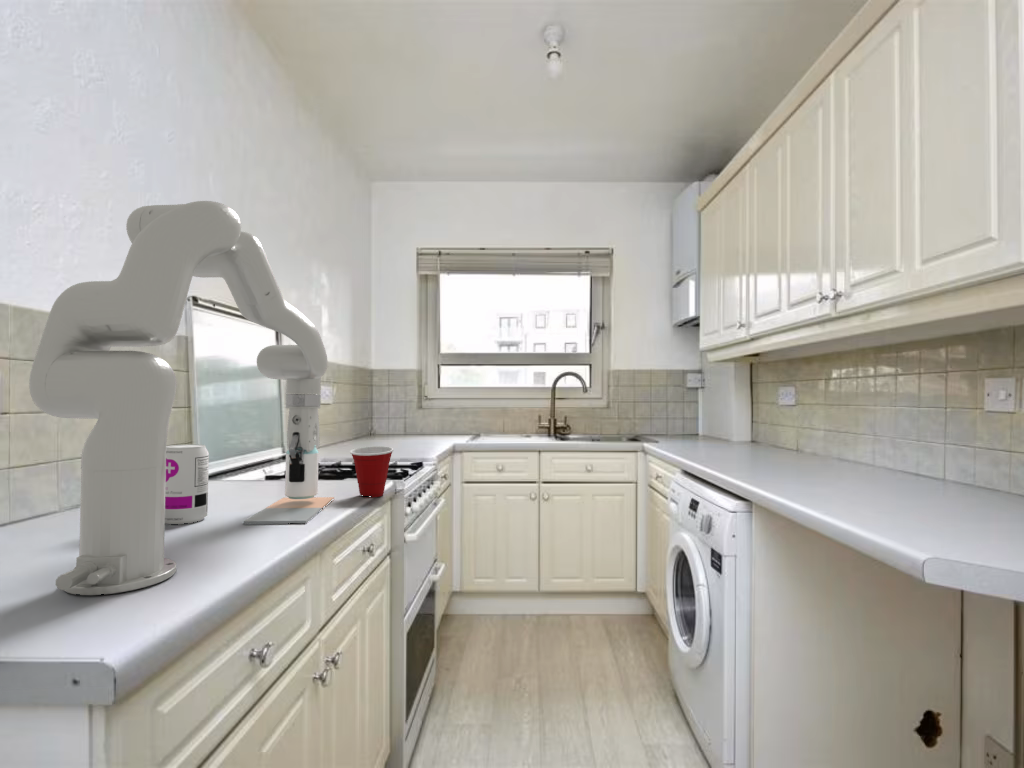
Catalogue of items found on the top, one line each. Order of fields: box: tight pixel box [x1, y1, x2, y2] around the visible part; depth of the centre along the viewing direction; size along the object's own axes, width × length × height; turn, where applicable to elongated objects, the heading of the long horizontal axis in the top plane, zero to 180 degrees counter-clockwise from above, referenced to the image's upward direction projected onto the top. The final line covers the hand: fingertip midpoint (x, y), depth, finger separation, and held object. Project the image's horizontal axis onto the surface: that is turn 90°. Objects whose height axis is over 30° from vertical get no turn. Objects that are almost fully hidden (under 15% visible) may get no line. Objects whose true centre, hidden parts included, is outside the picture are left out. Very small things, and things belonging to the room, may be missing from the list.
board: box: [242, 496, 335, 525], centre depth 117 cm, size 24×12×1 cm, turn 6°
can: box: [284, 445, 320, 499], centre depth 123 cm, size 7×7×12 cm
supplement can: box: [165, 443, 210, 525], centre depth 108 cm, size 8×8×15 cm
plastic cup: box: [349, 445, 394, 498], centre depth 136 cm, size 11×11×12 cm
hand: (301, 478), depth 123 cm, fingers closed on can, 6 cm apart
